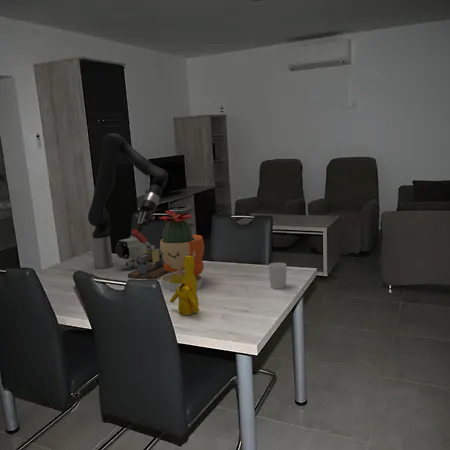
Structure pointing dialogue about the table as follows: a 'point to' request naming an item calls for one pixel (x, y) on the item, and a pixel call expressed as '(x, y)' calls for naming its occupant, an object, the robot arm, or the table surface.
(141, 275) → the valve stand base
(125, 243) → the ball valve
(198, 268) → the potted cactus
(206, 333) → the table surface
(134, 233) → the valve lever
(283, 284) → the white cup
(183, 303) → the figure statuette
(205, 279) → the table surface
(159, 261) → the valve pipe
